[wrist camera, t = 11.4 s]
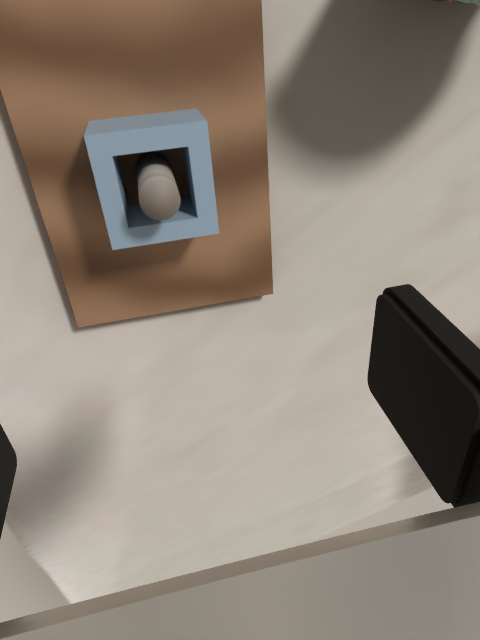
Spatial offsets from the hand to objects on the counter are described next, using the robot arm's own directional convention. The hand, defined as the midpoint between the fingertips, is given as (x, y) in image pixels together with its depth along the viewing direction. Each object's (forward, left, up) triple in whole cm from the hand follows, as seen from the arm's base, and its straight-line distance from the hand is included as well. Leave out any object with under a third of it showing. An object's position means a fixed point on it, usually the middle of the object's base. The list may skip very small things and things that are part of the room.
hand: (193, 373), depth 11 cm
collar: (0, 0, -20) cm, 20 cm away
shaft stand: (0, 0, -21) cm, 21 cm away
